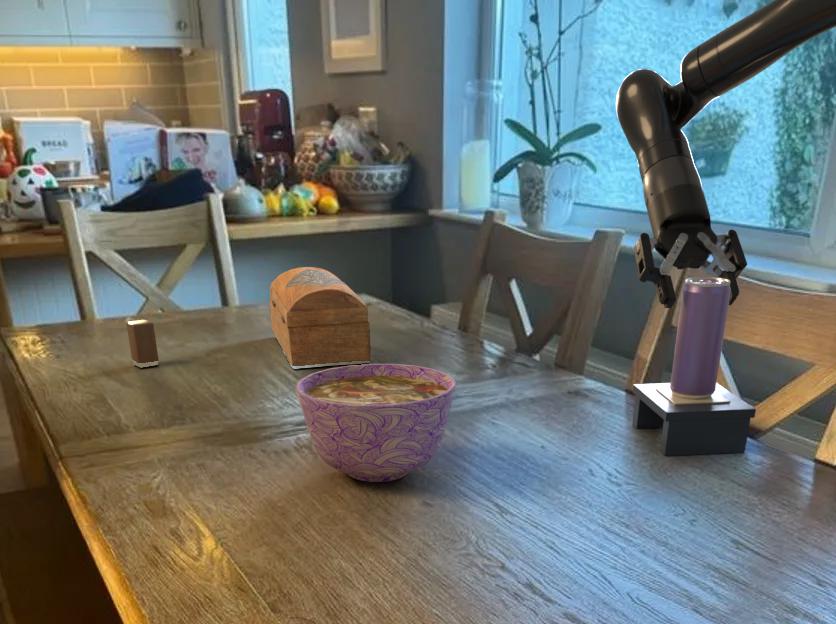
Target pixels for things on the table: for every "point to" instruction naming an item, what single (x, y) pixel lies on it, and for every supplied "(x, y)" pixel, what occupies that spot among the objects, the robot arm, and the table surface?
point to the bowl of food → (376, 417)
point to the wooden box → (318, 318)
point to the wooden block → (142, 341)
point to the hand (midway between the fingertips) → (701, 303)
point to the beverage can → (700, 337)
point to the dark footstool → (693, 420)
